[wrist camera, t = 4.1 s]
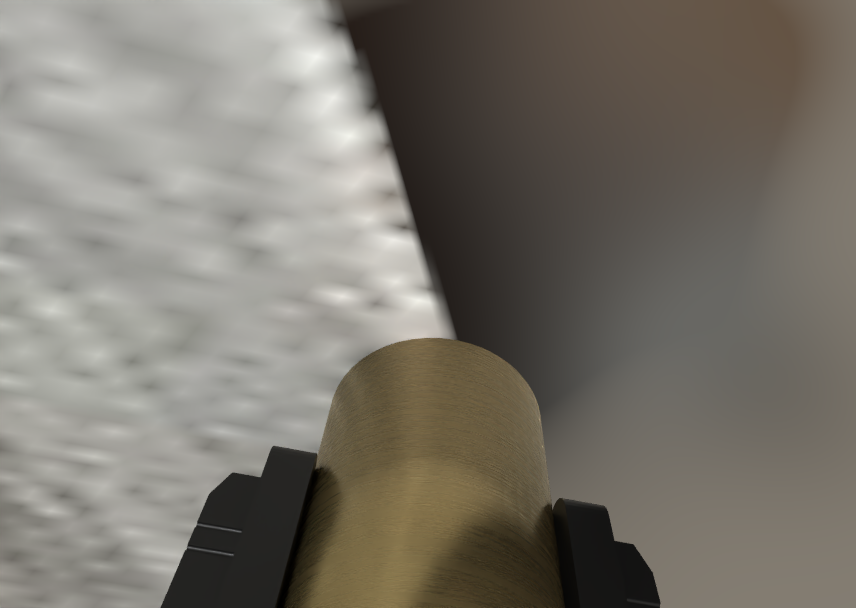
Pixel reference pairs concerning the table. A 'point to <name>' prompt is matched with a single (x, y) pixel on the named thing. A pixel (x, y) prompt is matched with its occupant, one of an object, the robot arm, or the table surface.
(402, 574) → the cylinder
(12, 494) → the table surface
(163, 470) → the table surface
